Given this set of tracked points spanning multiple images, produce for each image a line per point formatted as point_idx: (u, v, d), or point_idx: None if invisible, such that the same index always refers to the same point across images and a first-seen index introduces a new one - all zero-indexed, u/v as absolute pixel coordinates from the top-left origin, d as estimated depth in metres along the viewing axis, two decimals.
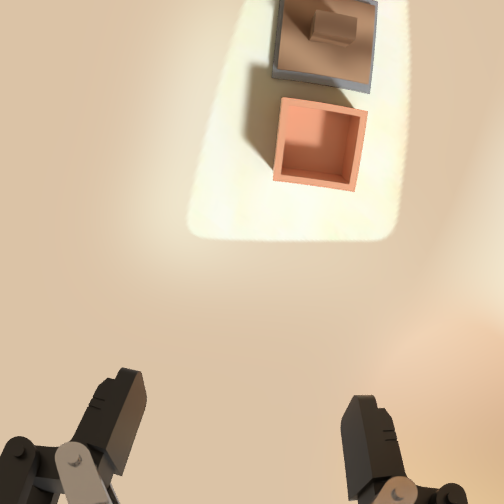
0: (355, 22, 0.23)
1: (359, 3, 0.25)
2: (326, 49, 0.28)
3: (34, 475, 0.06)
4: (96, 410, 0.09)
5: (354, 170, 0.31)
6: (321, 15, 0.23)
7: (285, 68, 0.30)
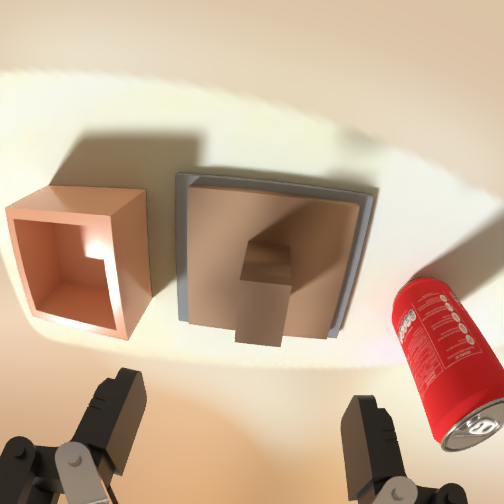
0: (270, 343, 0.17)
1: (329, 319, 0.21)
2: (234, 268, 0.20)
3: (34, 475, 0.06)
4: (96, 410, 0.09)
5: (52, 317, 0.19)
6: (279, 294, 0.15)
7: (189, 200, 0.19)
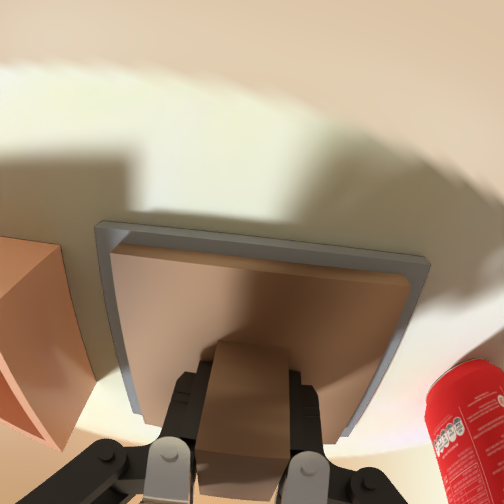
0: (253, 499, 0.09)
1: (341, 426, 0.13)
2: None
3: (113, 481, 0.07)
4: (180, 404, 0.10)
5: None
6: (267, 465, 0.07)
7: (116, 274, 0.10)
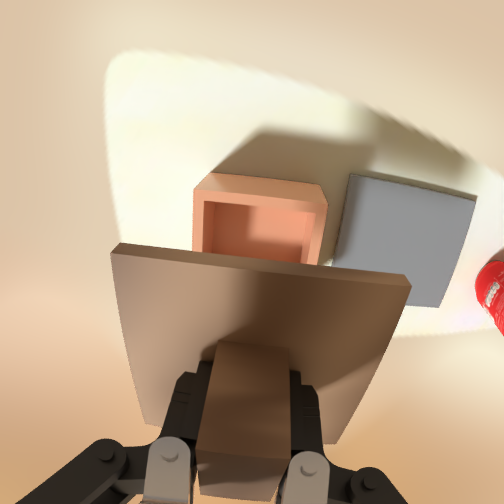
0: (254, 499, 0.09)
1: (341, 426, 0.13)
2: None
3: (113, 481, 0.07)
4: (180, 404, 0.10)
5: None
6: (268, 465, 0.07)
7: (116, 274, 0.10)
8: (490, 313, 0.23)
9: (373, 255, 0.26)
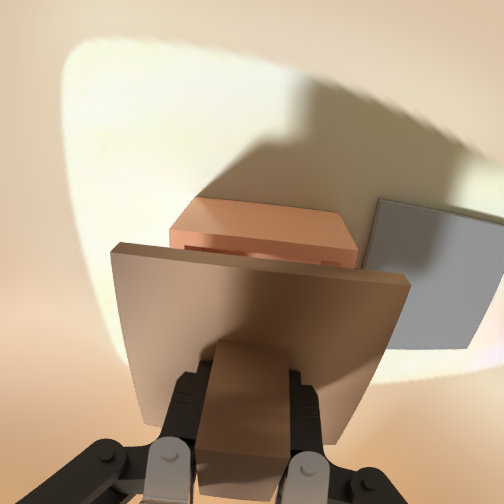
0: (253, 499, 0.09)
1: (341, 426, 0.13)
2: None
3: (113, 481, 0.07)
4: (180, 404, 0.10)
5: None
6: (267, 464, 0.07)
7: (116, 274, 0.10)
8: None
9: None
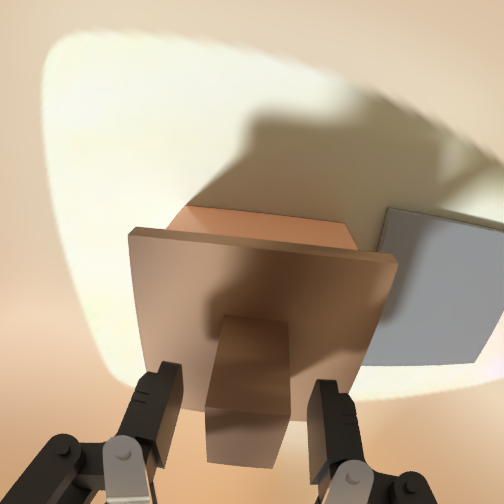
0: (257, 466, 0.10)
1: None
2: (206, 347, 0.13)
3: (74, 475, 0.06)
4: (139, 403, 0.09)
5: None
6: (270, 423, 0.09)
7: (132, 255, 0.12)
8: None
9: (409, 313, 0.18)
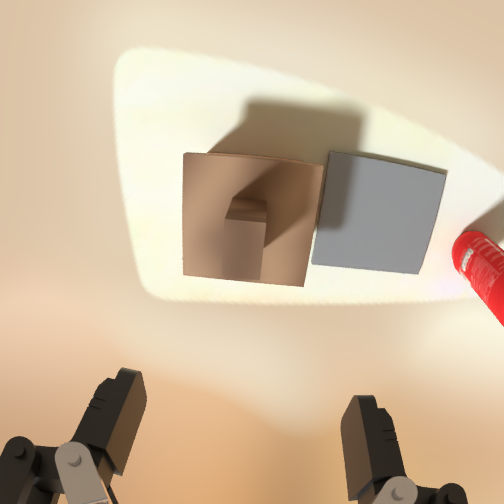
0: (251, 277, 0.21)
1: (304, 267, 0.25)
2: (221, 221, 0.24)
3: (34, 475, 0.06)
4: (96, 410, 0.09)
5: None
6: (256, 230, 0.19)
7: (184, 165, 0.22)
8: (466, 277, 0.27)
9: (353, 223, 0.29)
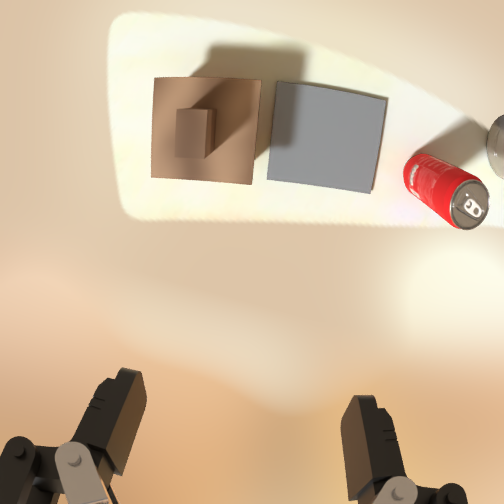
0: (197, 156, 0.25)
1: (250, 165, 0.29)
2: None
3: (34, 475, 0.06)
4: (96, 410, 0.09)
5: None
6: (200, 116, 0.23)
7: (155, 86, 0.26)
8: (415, 191, 0.30)
9: (301, 141, 0.33)
